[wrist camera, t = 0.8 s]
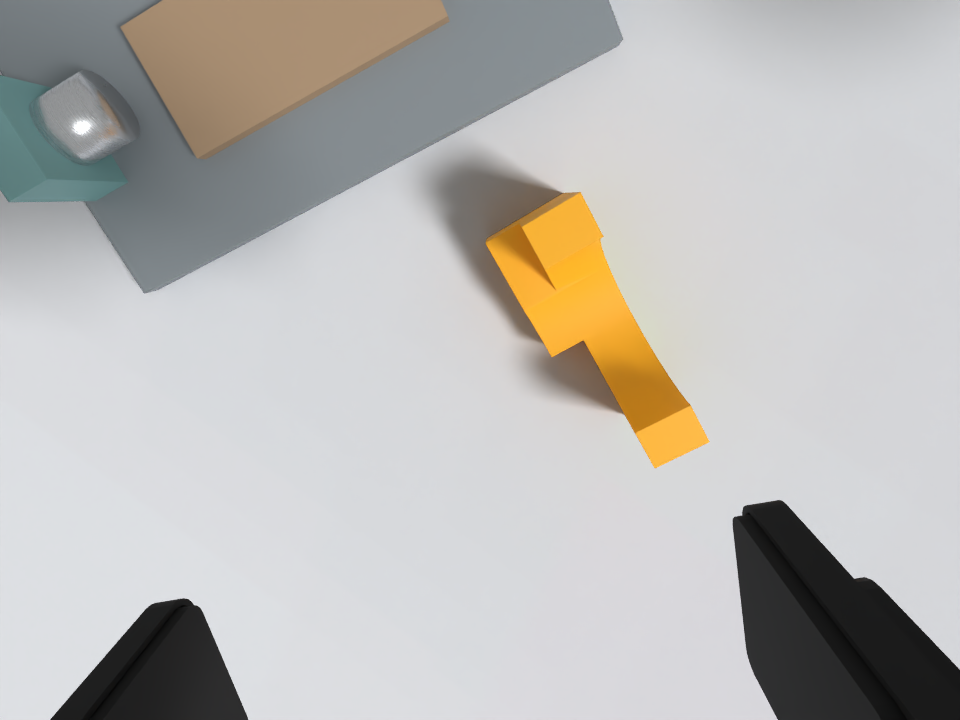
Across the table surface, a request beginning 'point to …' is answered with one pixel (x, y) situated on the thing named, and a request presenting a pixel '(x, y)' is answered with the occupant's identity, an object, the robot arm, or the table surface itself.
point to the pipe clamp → (593, 318)
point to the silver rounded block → (84, 118)
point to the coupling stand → (265, 103)
